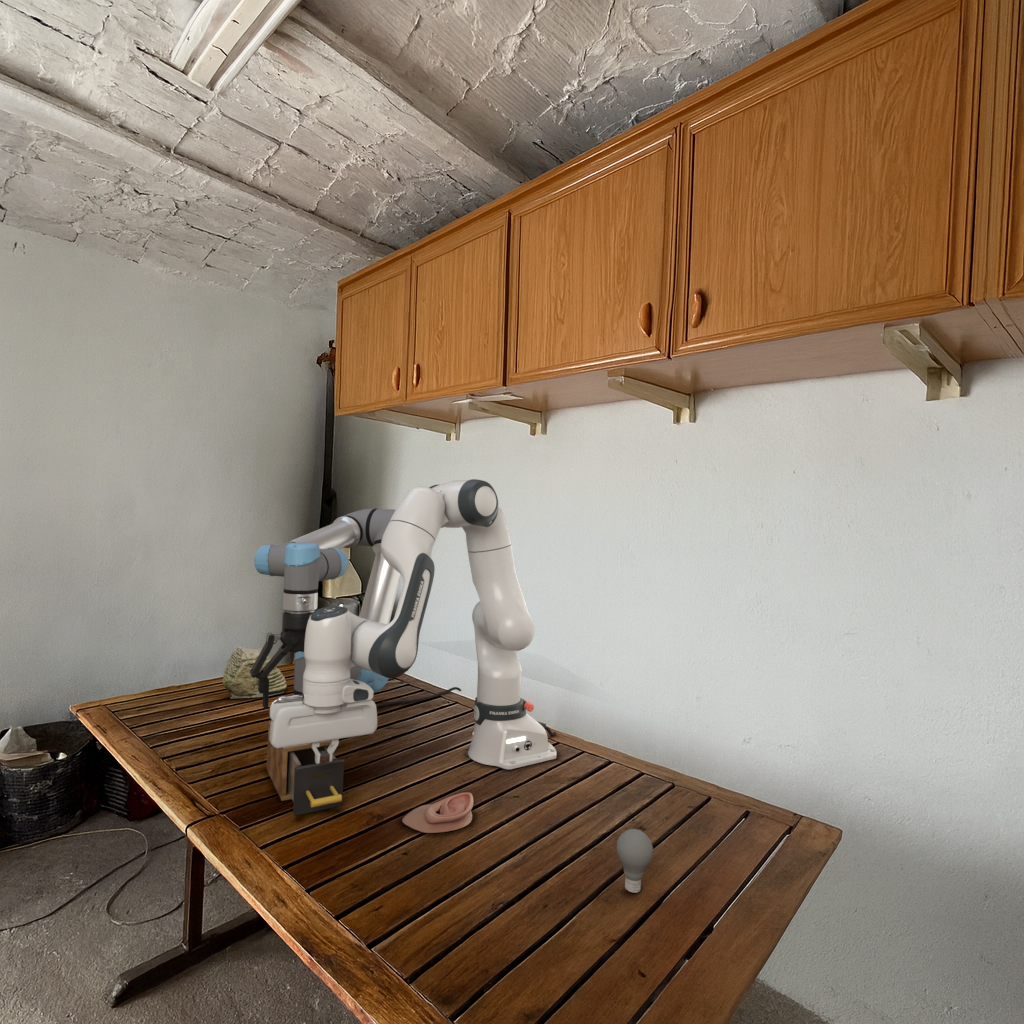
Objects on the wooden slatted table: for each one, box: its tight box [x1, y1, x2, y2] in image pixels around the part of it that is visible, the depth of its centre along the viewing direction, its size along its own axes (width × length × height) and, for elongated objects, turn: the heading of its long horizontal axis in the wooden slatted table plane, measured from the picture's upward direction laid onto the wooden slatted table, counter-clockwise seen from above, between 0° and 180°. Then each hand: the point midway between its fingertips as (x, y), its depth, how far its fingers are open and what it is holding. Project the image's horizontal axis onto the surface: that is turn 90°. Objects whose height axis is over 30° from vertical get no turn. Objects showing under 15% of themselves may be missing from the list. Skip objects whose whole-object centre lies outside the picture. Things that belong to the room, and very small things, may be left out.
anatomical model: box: [401, 791, 474, 834], centre depth 126 cm, size 13×4×12 cm
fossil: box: [222, 646, 288, 699], centre depth 198 cm, size 9×18×15 cm, turn 132°
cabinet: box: [266, 721, 335, 802], centre depth 141 cm, size 17×11×11 cm, turn 31°
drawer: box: [286, 746, 345, 816], centre depth 130 cm, size 21×9×9 cm, turn 31°
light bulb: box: [615, 828, 654, 894], centre depth 106 cm, size 6×6×10 cm
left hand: (296, 703), depth 145 cm, fingers open, 13 cm apart
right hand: (323, 762), depth 123 cm, fingers closed
